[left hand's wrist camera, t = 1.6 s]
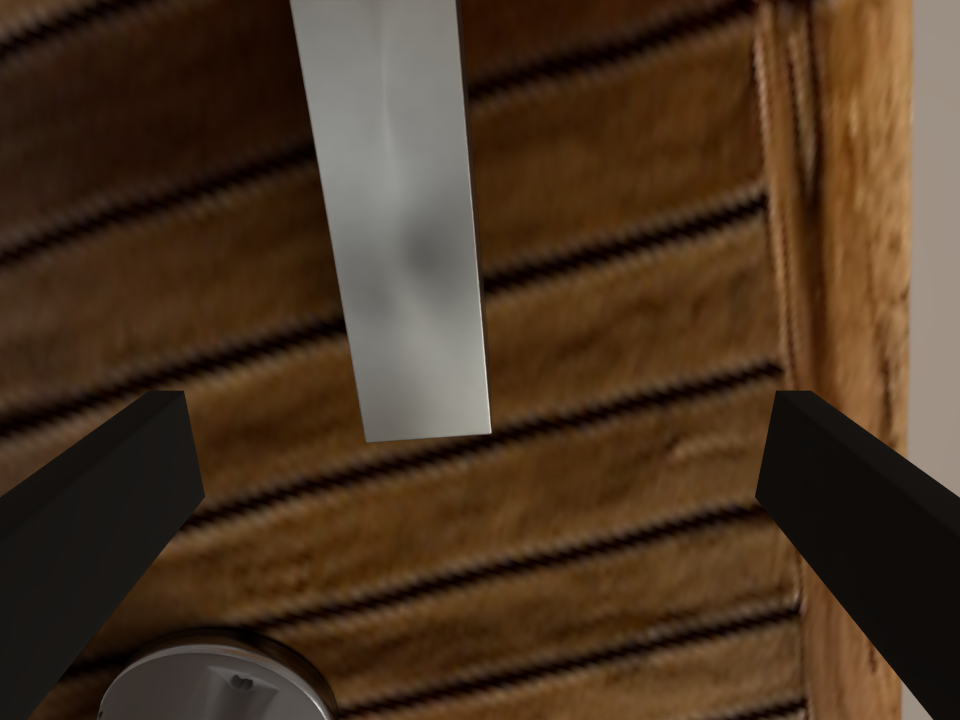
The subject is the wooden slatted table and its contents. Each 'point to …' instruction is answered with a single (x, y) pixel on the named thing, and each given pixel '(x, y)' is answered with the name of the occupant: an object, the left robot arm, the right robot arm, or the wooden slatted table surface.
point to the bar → (401, 208)
